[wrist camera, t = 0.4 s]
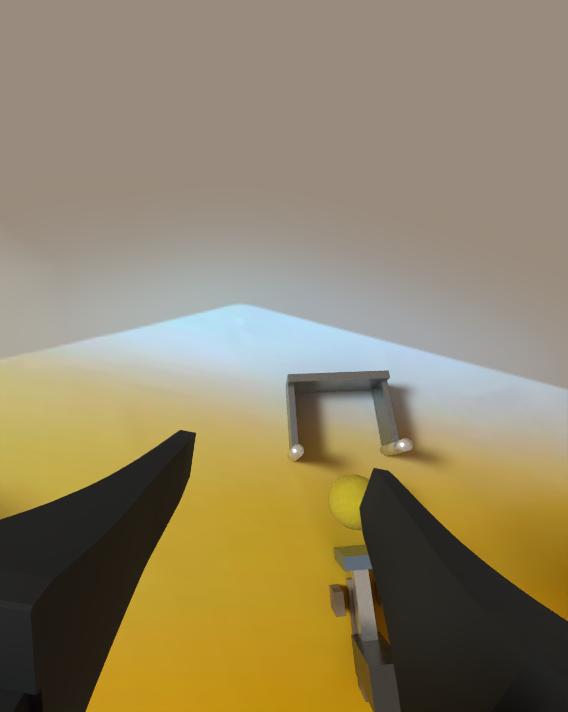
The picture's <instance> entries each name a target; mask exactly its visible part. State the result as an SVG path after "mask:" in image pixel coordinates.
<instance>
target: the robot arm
mask: <svg viewBox="0 0 568 712" xmlns="http://www.w3.org/2000/svg"><path fill="white" fill-rule="evenodd" d="M195 436H196V433H193V432H188V431H183V430H180V431H178V432H177V433H175V434H174V435H172V436H171V437H169V438H168V439H167V440H165V441H164V442H162V443H161V444H160V445H158V446H157V447H155V448H154V449H152V450H151V451H149V452H148V453H146V454H145V455H143V456H142V457H140V458H139V459H137V460H135V461H134V462H132V463H130V464H129V465H127V466H125V467H124V468H122V469H120V470H119V471H117V472H115V473H113V474H112V475H110V476H108V477H106V478H104V479H102V480H100V481H98V482H96V483H94V484H92V485H90V486H88V487H85V488H83V489H81V490H79V491H76V492H74V493H71V494H69V495H67V496H64V497H62V498H60V499H57V500H55V501H52V502H50V503H47V504H45V505H42V506H39V507H36V508H34V509H31V510H28V511H25V512H22V513H19V514H16V515H13V516H10V517H7V518H4V519H1V520H0V712H85V711H86V709H87V706H88V704H89V701H90V698H91V696H92V693H93V691H94V688H95V686H96V683H97V681H98V678H99V676H100V673H101V671H102V668H103V666H104V663H105V661H106V658H107V656H108V653H109V651H110V648H111V646H112V644H113V641H114V639H115V636H116V634H117V631H118V629H119V627H120V624H121V622H122V619H123V617H124V615H125V612H126V610H127V607H128V605H129V603H130V600H131V598H132V596H133V593H134V591H135V589H136V586H137V584H138V582H139V579H140V577H141V575H142V573H143V570H144V568H145V566H146V564H147V562H148V560H149V558H150V556H151V554H152V552H153V551H154V549H155V547H156V545H157V543H158V541H159V539H160V538H161V536H162V534H163V532H164V530H165V528H166V526H167V524H168V523H169V521H170V519H171V517H172V515H173V513H174V511H175V509H176V507H177V506H178V504H179V502H180V500H181V497H182V495H183V492H184V490H185V487H186V485H187V482H188V479H189V477H190V472H191V465H192V457H193V450H194V443H195ZM359 510H360V518H361V525H362V531H363V536H364V540H365V544H366V548H367V551H368V555H369V559H370V562H371V566H372V569H373V573H374V576H375V580H376V584H377V587H378V591H379V594H380V598H381V602H382V606H383V610H384V615H385V620H386V625H387V630H388V636H389V641H390V646H391V652H392V658H393V664H394V670H395V676H396V682H397V688H398V695H399V702H400V709H401V712H568V621H566V620H565V619H563V618H562V617H560V616H559V615H557V614H556V613H554V612H553V611H551V610H550V609H548V608H547V607H545V606H544V605H542V604H541V603H539V602H538V601H536V600H535V599H534V598H532V597H531V596H529V595H528V594H526V593H525V592H524V591H522V590H521V589H519V588H518V587H517V586H515V585H514V584H513V583H511V582H510V581H509V580H507V579H506V578H505V577H503V576H502V575H501V574H499V573H498V572H497V571H495V570H494V569H493V568H491V567H490V566H489V565H488V564H486V563H485V562H484V561H483V560H481V559H480V558H479V557H478V556H477V555H475V554H474V553H473V552H472V551H471V550H470V549H468V548H467V547H466V546H465V545H464V544H462V543H461V542H460V541H459V540H458V539H457V538H456V537H455V536H454V535H452V534H451V533H450V532H449V531H448V530H447V529H446V528H445V527H444V526H443V525H442V524H441V523H440V522H439V521H438V520H437V519H436V518H435V517H434V516H433V515H432V514H431V513H430V512H429V511H428V510H427V509H426V508H425V507H424V506H423V505H422V504H421V503H420V502H419V501H418V500H417V499H416V498H415V497H414V496H413V495H412V494H411V493H410V492H409V491H408V490H407V489H406V488H405V487H404V486H403V485H402V484H401V482H400V481H399V480H398V479H397V478H396V477H395V476H394V475H393V474H391V473H390V472H389V471H387V470H382V469H377V468H374V469H373V471H372V474H371V477H370V480H369V482H368V485H367V488H366V491H365V493H364V496H363V499H362V502H361V504H360V507H359Z"/></svg>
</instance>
